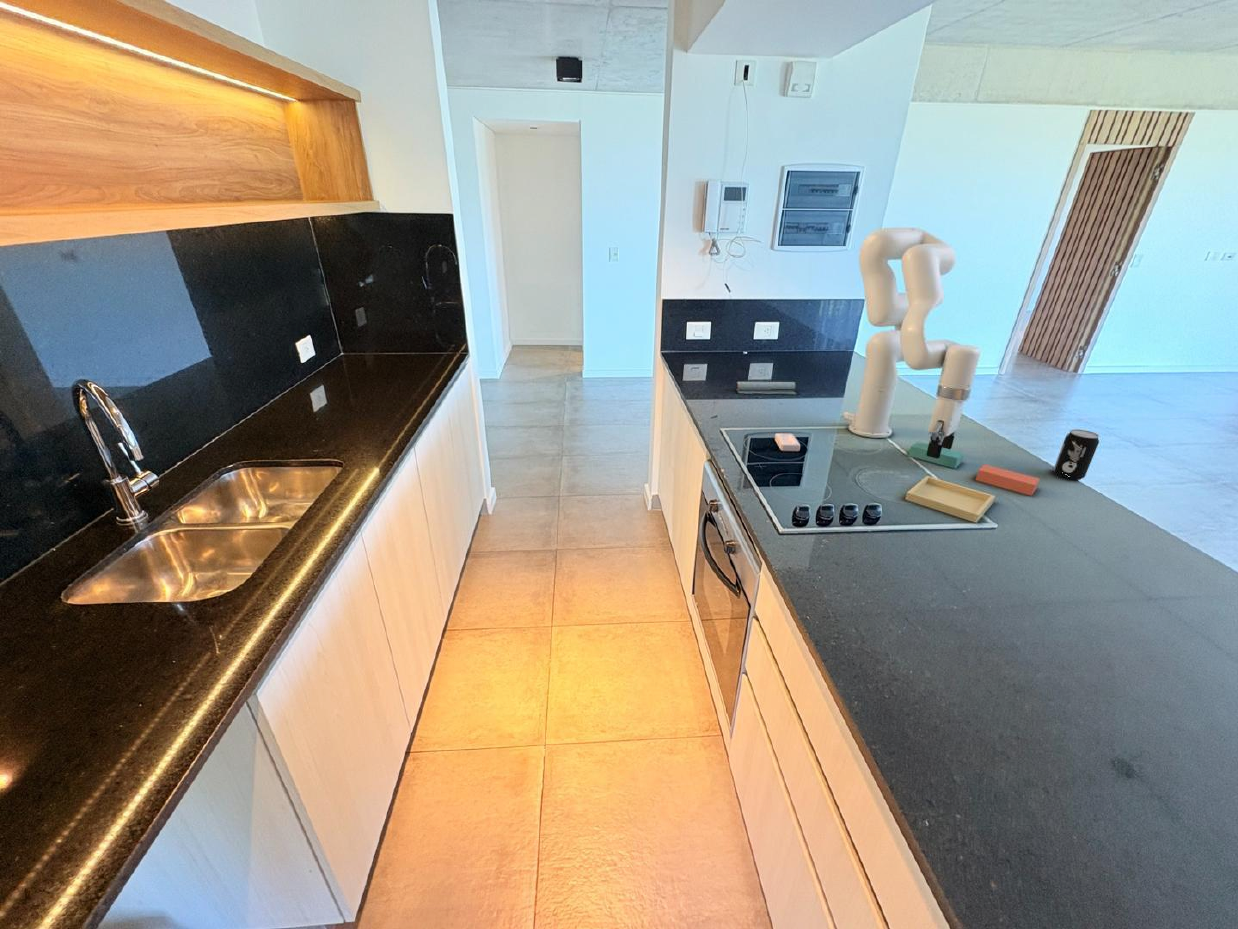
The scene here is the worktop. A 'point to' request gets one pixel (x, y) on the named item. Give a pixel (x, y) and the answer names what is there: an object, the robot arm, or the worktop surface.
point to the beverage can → (1076, 454)
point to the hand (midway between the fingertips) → (938, 452)
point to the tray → (950, 498)
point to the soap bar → (787, 442)
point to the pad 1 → (945, 459)
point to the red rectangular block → (1007, 479)
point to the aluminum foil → (765, 387)
